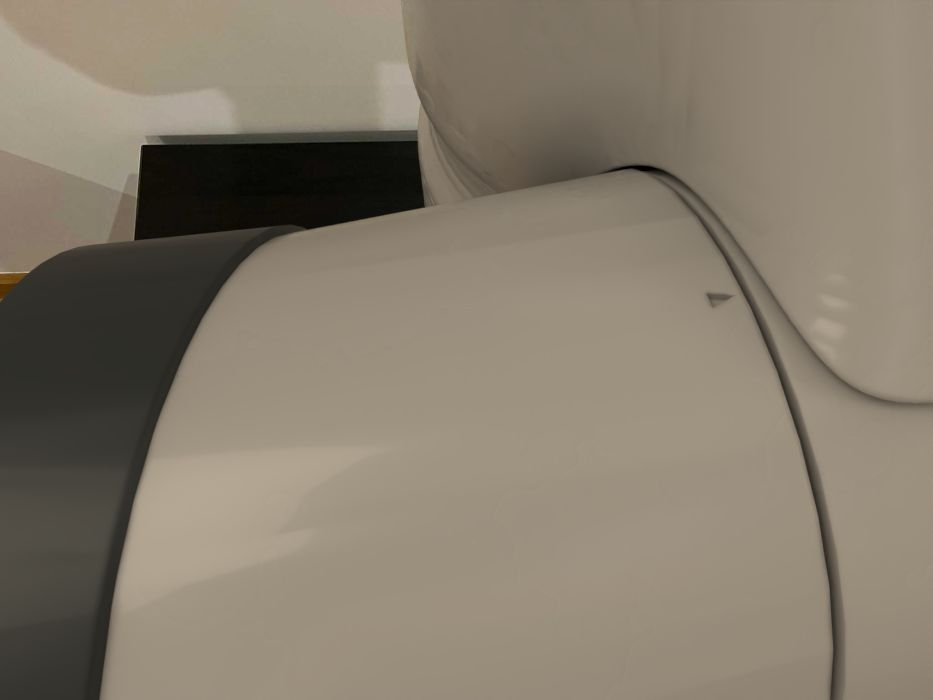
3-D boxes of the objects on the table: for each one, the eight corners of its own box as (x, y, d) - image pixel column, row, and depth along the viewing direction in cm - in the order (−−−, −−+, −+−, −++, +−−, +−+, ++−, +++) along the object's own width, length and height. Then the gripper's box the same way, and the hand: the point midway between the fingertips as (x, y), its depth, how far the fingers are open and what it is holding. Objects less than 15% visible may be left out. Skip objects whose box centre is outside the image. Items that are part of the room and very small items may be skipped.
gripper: (764, 492, 20) (641, 497, 33) (577, -95, 24) (535, 121, 38) (550, 545, 19) (513, 528, 33) (398, -61, 24) (421, 144, 37)
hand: (524, 308), depth 35 cm, fingers closed
